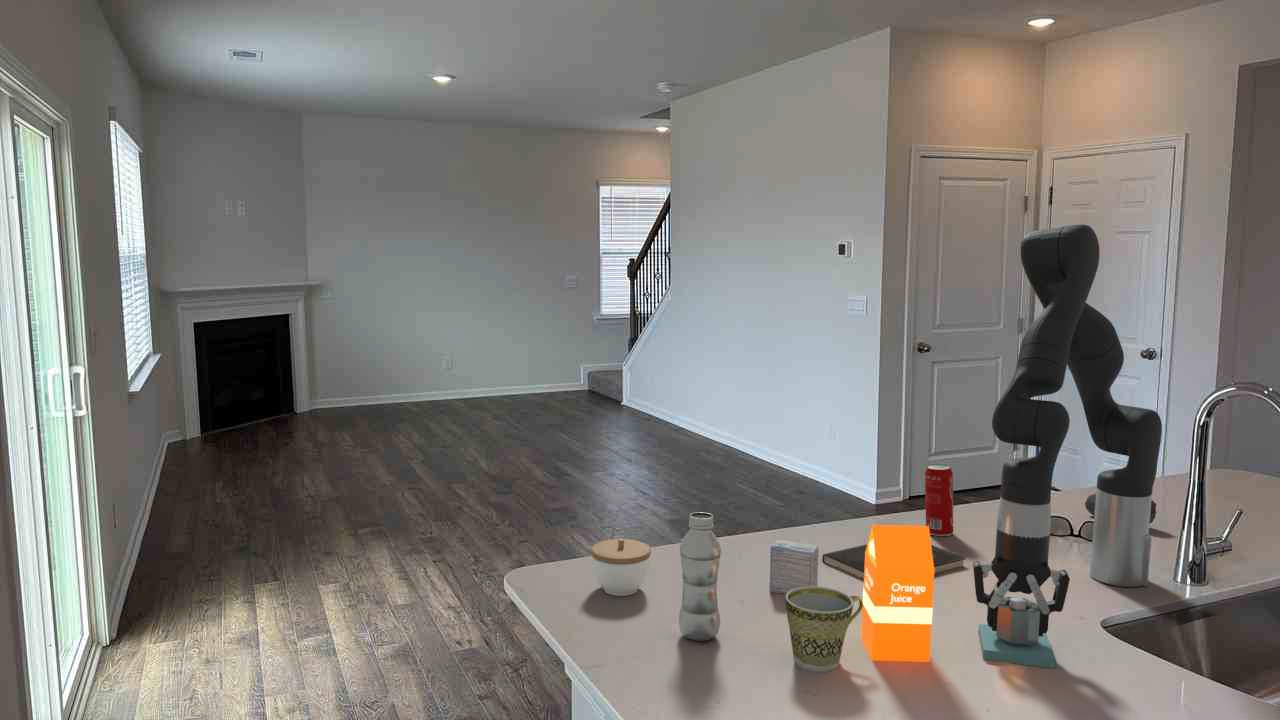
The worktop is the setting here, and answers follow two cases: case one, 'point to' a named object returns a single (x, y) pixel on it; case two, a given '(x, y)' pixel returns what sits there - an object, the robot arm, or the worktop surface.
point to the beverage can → (939, 499)
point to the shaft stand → (1016, 646)
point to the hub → (1018, 622)
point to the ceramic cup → (819, 625)
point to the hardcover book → (855, 559)
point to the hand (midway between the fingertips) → (1016, 631)
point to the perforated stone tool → (1092, 499)
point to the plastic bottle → (700, 579)
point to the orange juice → (898, 593)
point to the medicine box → (793, 566)
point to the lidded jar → (620, 565)
